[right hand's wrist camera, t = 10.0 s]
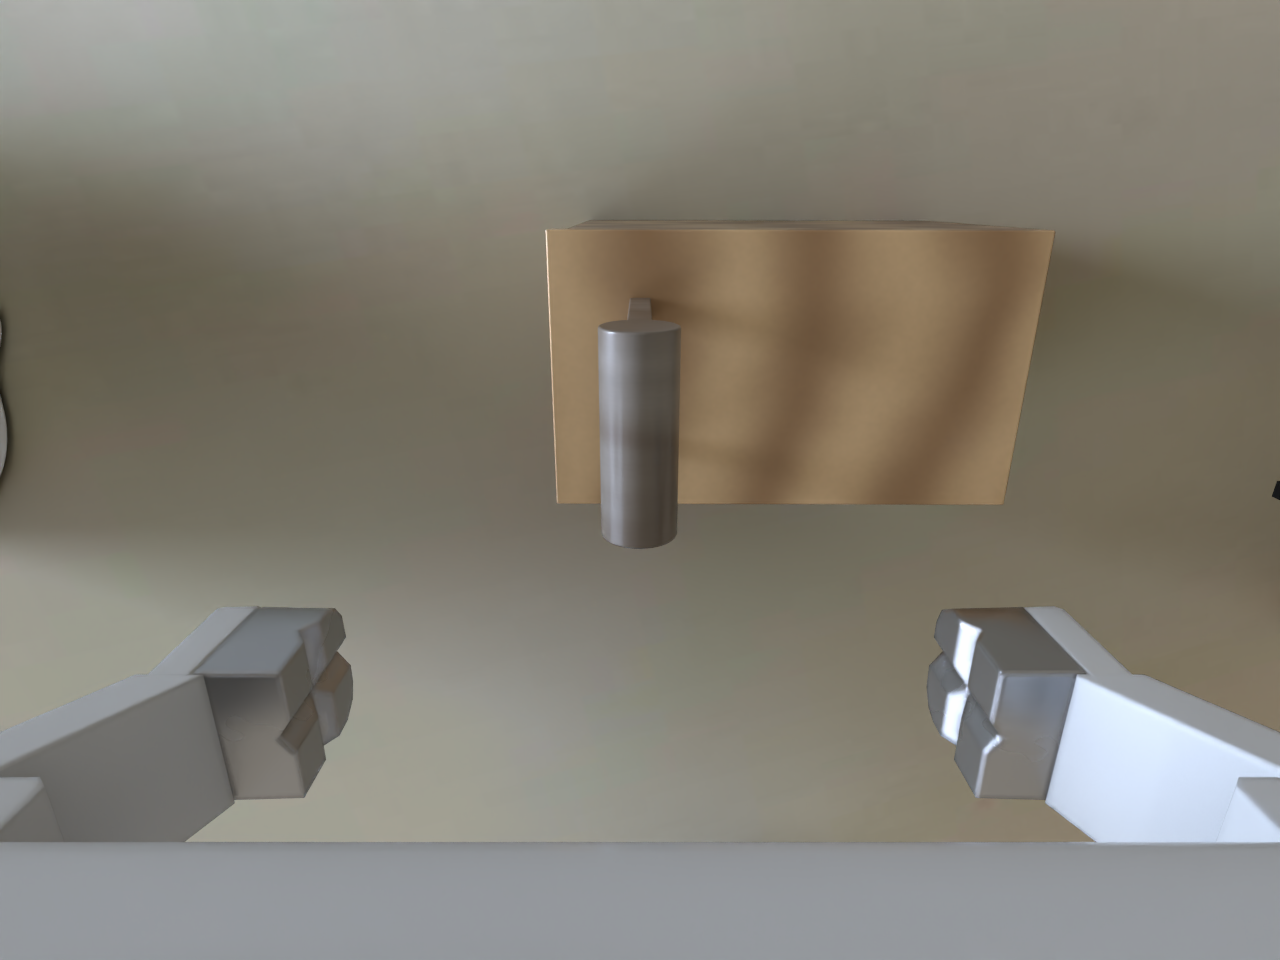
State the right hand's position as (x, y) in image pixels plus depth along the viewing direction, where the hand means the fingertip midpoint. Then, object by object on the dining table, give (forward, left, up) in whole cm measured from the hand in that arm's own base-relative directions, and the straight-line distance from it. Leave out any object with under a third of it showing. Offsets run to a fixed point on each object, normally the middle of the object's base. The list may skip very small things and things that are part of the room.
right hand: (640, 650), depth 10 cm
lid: (+3, +4, -17) cm, 18 cm away
